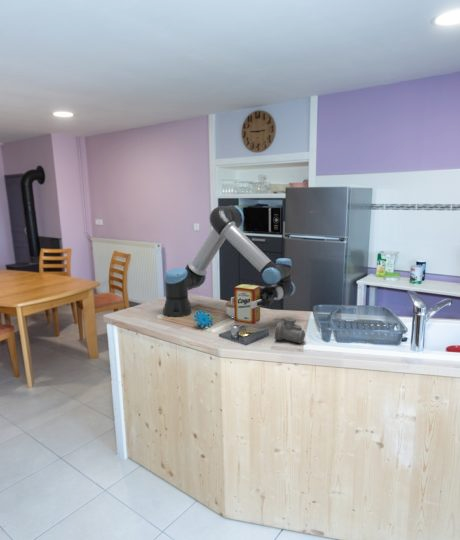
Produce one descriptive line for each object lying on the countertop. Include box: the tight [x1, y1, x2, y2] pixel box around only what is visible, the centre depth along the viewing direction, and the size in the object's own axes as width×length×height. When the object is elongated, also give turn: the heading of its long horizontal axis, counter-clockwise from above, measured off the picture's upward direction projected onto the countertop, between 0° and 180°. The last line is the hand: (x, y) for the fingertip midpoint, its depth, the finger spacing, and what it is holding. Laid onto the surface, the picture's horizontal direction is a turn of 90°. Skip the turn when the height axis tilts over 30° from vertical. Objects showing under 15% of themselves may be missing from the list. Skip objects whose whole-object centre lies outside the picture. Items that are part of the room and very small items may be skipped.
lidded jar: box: [225, 300, 235, 318], centre depth 199 cm, size 11×11×9 cm
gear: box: [193, 309, 215, 329], centre depth 187 cm, size 11×6×10 cm
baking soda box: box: [233, 283, 261, 325], centre depth 172 cm, size 10×6×16 cm
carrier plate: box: [218, 324, 270, 346], centre depth 172 cm, size 16×16×6 cm
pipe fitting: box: [274, 316, 306, 344], centre depth 165 cm, size 12×8×10 cm, turn 62°
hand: (241, 303), depth 169 cm, fingers closed on baking soda box, 11 cm apart
